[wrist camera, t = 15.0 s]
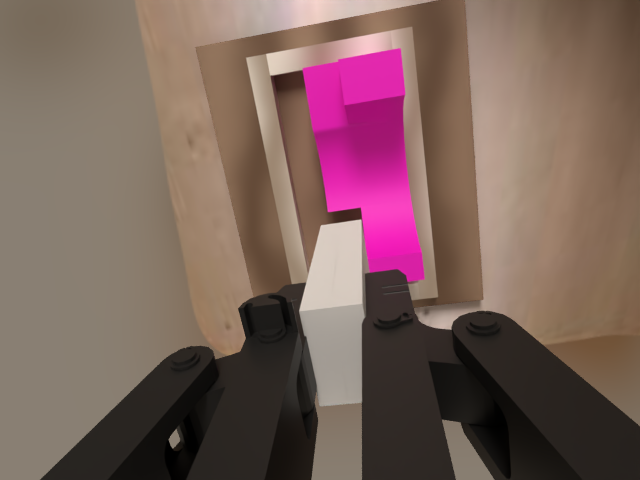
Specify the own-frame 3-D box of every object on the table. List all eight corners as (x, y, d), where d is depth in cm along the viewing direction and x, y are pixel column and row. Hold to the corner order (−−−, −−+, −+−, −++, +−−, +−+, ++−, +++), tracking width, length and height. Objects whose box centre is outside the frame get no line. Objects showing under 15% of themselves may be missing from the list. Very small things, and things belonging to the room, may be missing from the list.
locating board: (460, -2, 34) (469, -9, 31) (479, 293, 41) (488, 307, 39) (200, 48, 36) (188, 45, 34) (262, 318, 44) (257, 333, 41)
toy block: (308, 69, 35) (297, 66, 28) (391, 54, 34) (400, 47, 27) (338, 253, 40) (335, 290, 33) (412, 243, 39) (424, 279, 32)
